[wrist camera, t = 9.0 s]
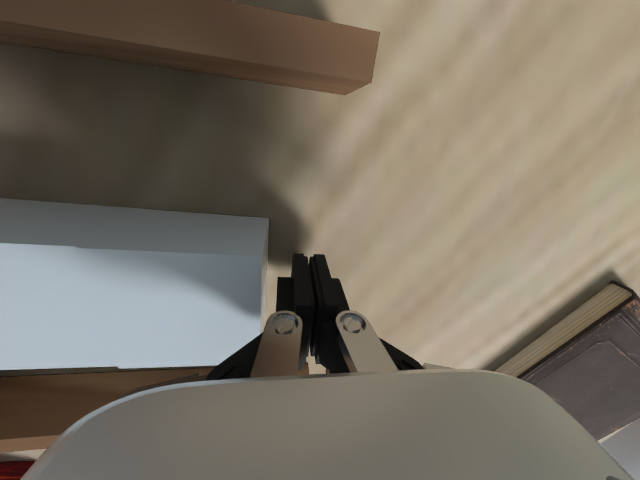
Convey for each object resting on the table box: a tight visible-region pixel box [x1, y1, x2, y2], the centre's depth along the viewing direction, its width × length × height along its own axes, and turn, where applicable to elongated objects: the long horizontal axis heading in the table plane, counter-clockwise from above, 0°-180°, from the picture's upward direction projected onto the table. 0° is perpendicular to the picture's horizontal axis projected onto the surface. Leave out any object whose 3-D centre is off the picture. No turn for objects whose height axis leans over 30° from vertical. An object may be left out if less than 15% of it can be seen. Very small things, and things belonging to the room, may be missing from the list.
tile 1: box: [75, 209, 269, 369], centre depth 11 cm, size 6×6×4 cm
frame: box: [0, 0, 380, 453], centre depth 11 cm, size 20×21×4 cm
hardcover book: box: [494, 281, 640, 441], centre depth 24 cm, size 16×23×2 cm
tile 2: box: [0, 198, 142, 370], centre depth 10 cm, size 6×6×4 cm
